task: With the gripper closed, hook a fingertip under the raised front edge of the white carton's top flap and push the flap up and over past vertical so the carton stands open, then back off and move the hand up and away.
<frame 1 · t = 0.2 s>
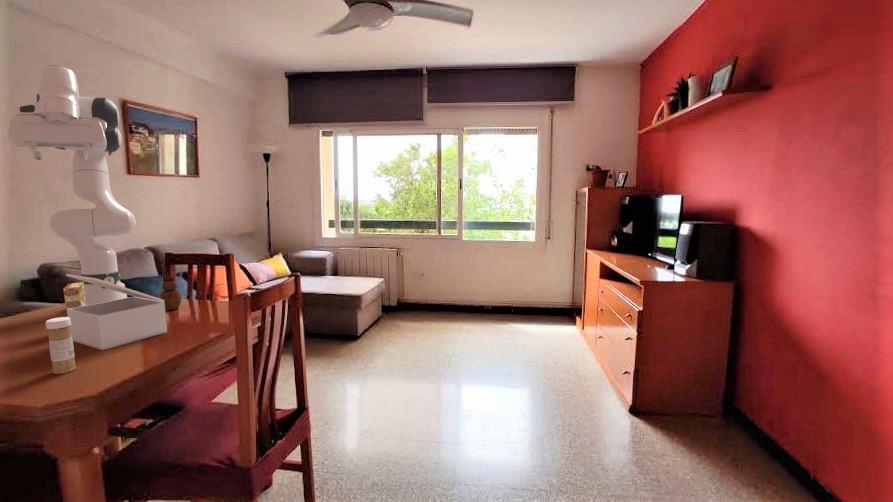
hand: (60, 159, 118), 53 cm above the table, tool tilted 30°, fingers open, 8 cm apart
wooden figurine: (171, 309, 169), on the table
candy box: (79, 331, 142), on the table
carton flap: (116, 288, 134), point 15 cm above the table, hinge at 30.0°
carton: (120, 336, 136), on the table
sprinkles bottle: (64, 371, 109), on the table
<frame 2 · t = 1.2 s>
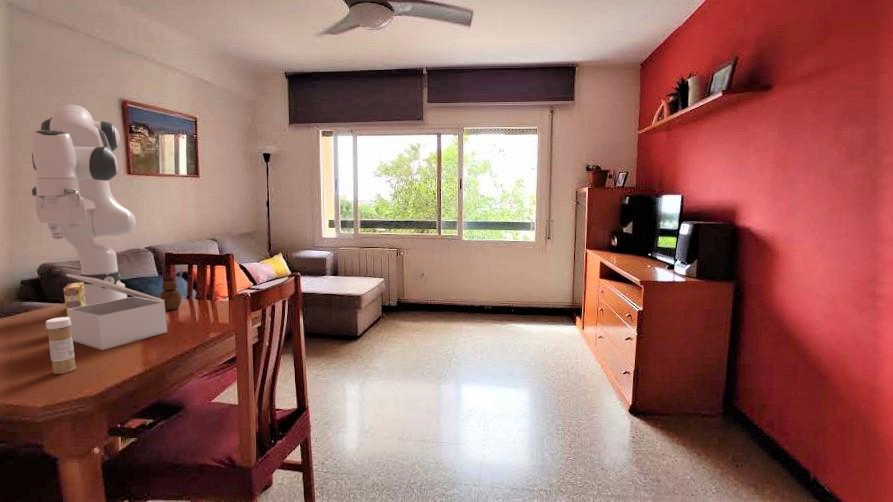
hand: (65, 239, 122), 31 cm above the table, tool pointing down, fingers open, 8 cm apart
nothing on the table moved.
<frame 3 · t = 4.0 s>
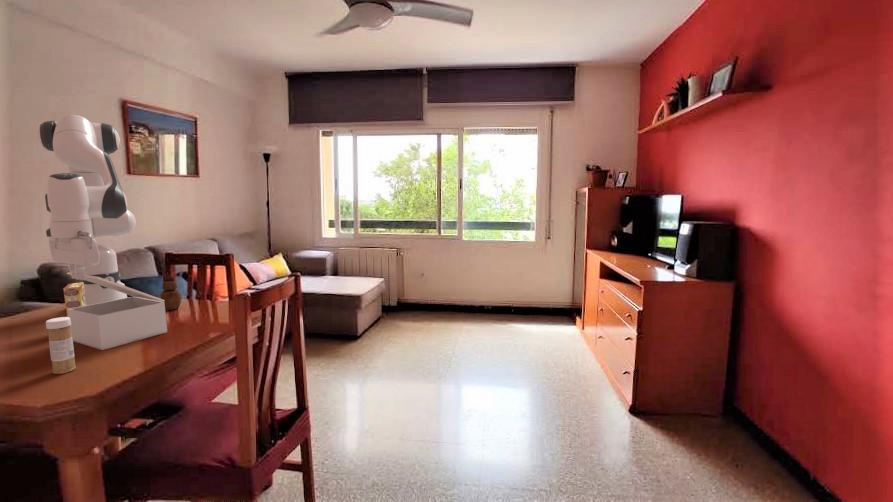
hand: (78, 279, 125), 20 cm above the table, tool pointing down, fingers closed, pressing on carton flap
carton flap: (117, 287, 134), point 16 cm above the table, hinge at 31.6°, touching gripper
everything else where it was.
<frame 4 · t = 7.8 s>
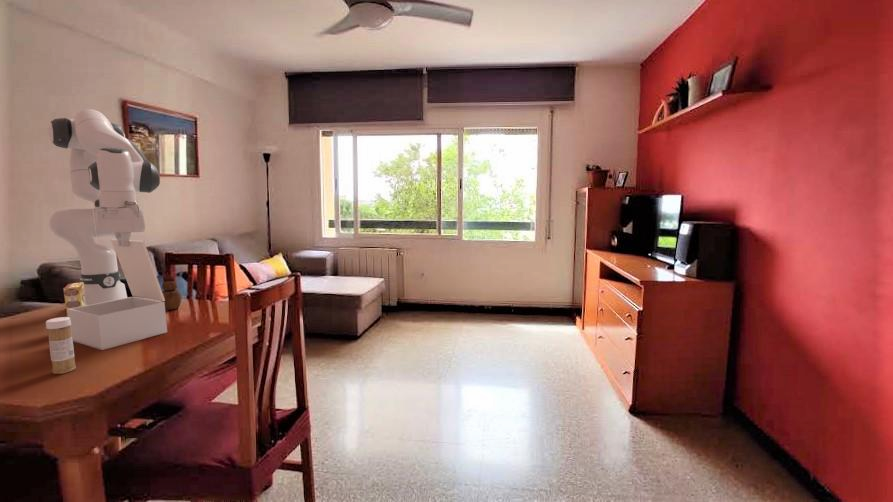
hand: (123, 246, 135), 28 cm above the table, tool pointing down, fingers closed, pressing on carton flap
carton flap: (137, 269, 139), point 20 cm above the table, hinge at 77.0°, touching gripper
everything else where it was.
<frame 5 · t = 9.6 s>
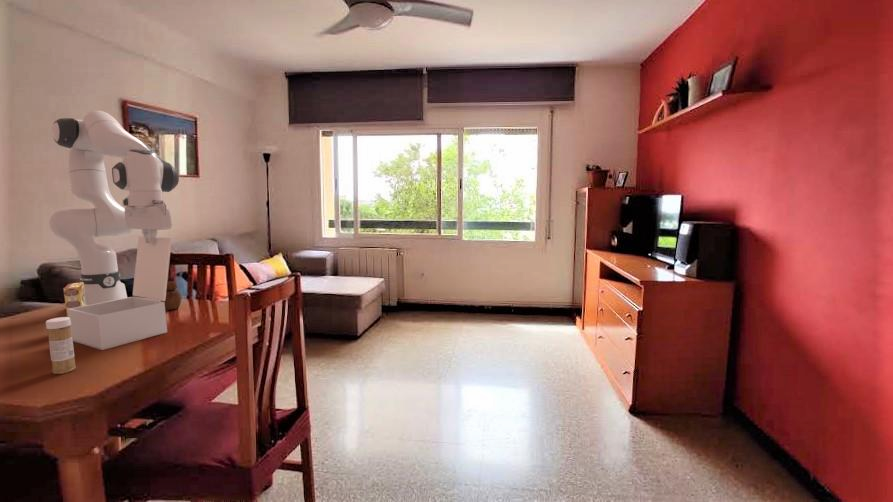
hand: (150, 243, 142), 28 cm above the table, tool pointing down, fingers closed, pressing on carton flap
carton flap: (151, 267, 143), point 20 cm above the table, hinge at 100.9°, touching gripper
everything else where it was.
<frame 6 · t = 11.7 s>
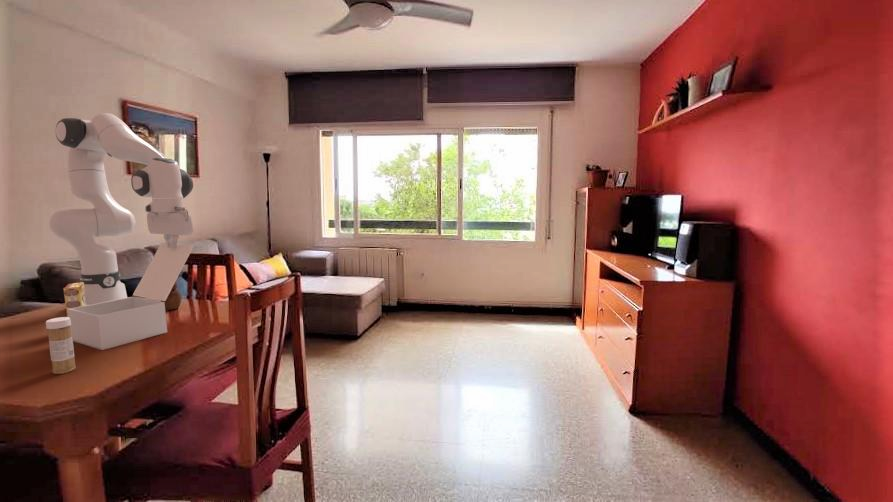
hand: (172, 247, 148), 26 cm above the table, tool pointing down, fingers closed, pressing on carton flap
carton flap: (163, 270, 146), point 19 cm above the table, hinge at 123.1°, touching gripper
everything else where it was.
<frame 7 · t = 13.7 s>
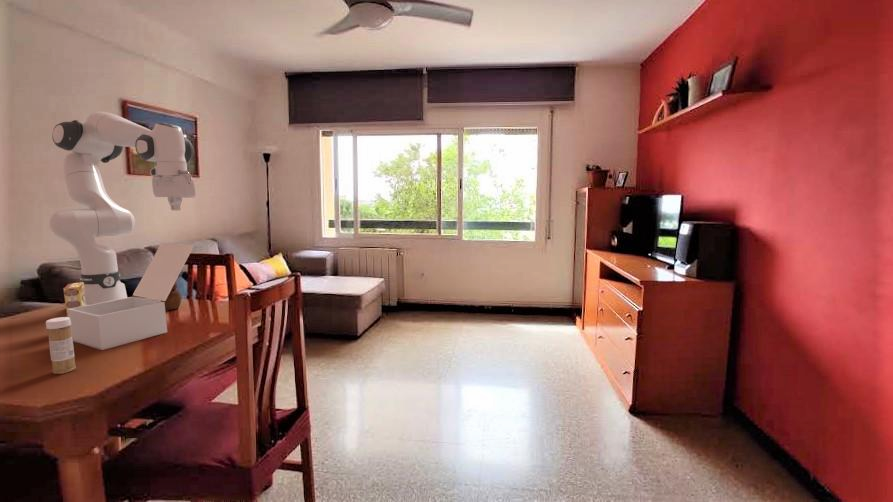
hand: (175, 210, 154), 38 cm above the table, tool pointing down, fingers closed
carton flap: (163, 270, 146), point 19 cm above the table, hinge at 123.1°
everything else where it was.
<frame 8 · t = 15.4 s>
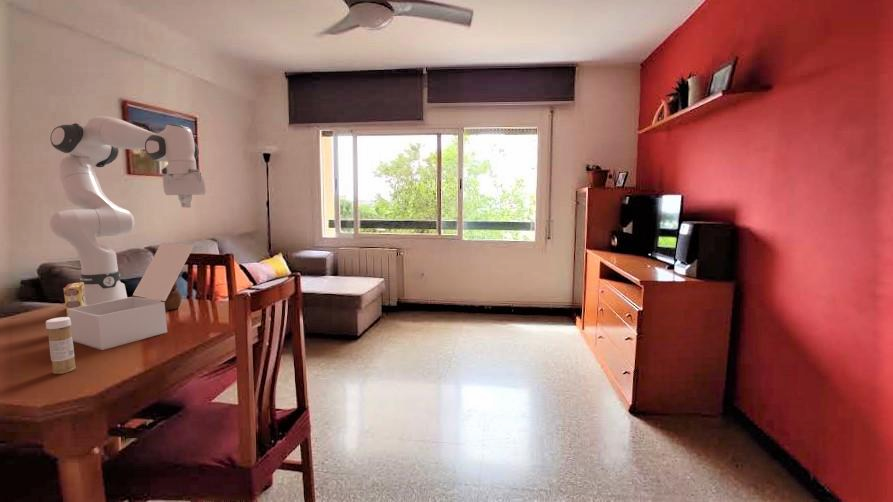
hand: (186, 207, 162), 39 cm above the table, tool pointing down, fingers closed
nothing on the table moved.
at the end: carton flap at +123° (first picture: +30°) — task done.
